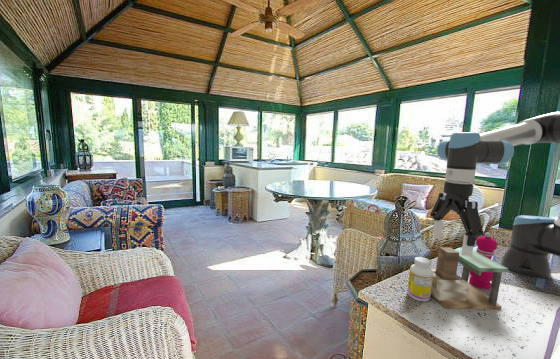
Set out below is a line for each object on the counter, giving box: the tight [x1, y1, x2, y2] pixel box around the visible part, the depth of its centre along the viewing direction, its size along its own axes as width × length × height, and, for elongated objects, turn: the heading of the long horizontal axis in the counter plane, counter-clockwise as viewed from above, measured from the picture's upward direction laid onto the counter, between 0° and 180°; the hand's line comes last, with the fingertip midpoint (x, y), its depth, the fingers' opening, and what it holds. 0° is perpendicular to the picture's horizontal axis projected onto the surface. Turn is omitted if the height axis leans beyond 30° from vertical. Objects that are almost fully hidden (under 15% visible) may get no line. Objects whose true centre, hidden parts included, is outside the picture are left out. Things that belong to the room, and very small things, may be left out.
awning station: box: [430, 249, 509, 310], centre depth 84 cm, size 19×14×13 cm
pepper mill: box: [468, 232, 498, 290], centre depth 91 cm, size 7×7×20 cm
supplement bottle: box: [407, 256, 433, 302], centre depth 83 cm, size 7×7×13 cm
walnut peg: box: [435, 246, 459, 280], centre depth 84 cm, size 4×4×15 cm
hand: (450, 246), depth 83 cm, fingers open, 13 cm apart
